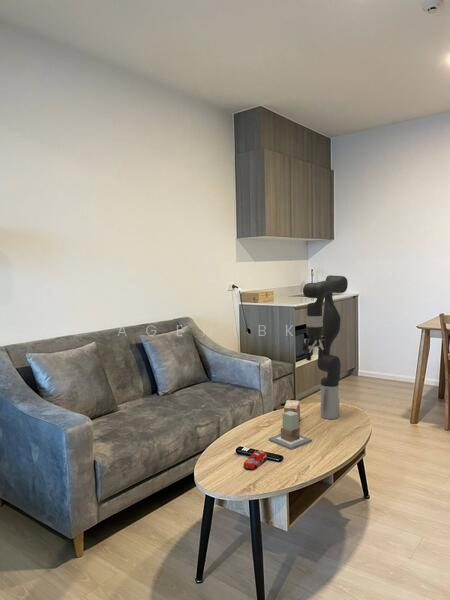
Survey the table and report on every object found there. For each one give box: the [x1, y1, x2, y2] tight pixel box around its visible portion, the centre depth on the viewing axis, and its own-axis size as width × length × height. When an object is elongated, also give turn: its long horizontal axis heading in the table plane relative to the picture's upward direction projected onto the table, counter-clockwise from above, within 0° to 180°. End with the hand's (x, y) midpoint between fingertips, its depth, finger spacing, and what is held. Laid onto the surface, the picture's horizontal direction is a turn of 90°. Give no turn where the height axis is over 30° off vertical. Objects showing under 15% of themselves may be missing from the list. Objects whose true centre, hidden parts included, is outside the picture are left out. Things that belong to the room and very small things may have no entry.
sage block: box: [282, 411, 299, 431], centre depth 200 cm, size 5×5×7 cm
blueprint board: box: [268, 426, 313, 451], centre depth 201 cm, size 14×14×6 cm
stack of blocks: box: [283, 399, 301, 425], centre depth 222 cm, size 21×6×12 cm, turn 166°
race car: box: [243, 450, 268, 471], centre depth 178 cm, size 13×5×4 cm, turn 145°
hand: (314, 359), depth 207 cm, fingers open, 8 cm apart
